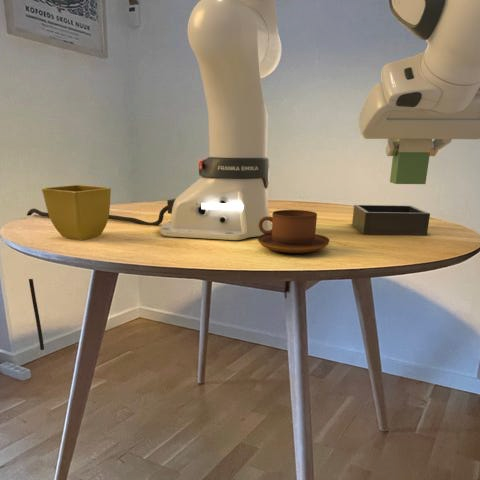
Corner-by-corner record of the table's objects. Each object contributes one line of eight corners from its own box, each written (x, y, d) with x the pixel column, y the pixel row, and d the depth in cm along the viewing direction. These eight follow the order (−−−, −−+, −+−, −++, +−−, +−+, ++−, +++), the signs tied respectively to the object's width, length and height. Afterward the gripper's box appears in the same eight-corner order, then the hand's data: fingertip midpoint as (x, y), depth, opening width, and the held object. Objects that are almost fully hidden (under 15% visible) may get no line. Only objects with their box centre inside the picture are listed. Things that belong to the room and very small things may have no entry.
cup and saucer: (258, 257, 74) (259, 218, 72) (256, 242, 85) (257, 207, 83) (334, 258, 74) (337, 219, 72) (322, 242, 85) (324, 208, 83)
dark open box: (363, 234, 93) (365, 212, 92) (352, 224, 104) (354, 204, 102) (426, 235, 93) (430, 213, 91) (409, 225, 104) (411, 205, 102)
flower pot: (116, 235, 90) (112, 187, 86) (82, 243, 82) (76, 191, 79) (82, 231, 94) (77, 184, 90) (47, 238, 86) (40, 188, 83)
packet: (395, 184, 78) (402, 125, 74) (389, 182, 81) (395, 126, 78) (426, 184, 78) (434, 125, 74) (418, 182, 81) (426, 126, 78)
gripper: (511, 66, 67) (465, 139, 80) (372, 64, 66) (347, 138, 79) (524, 98, 65) (474, 168, 77) (379, 96, 64) (352, 168, 76)
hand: (409, 153), depth 78 cm, fingers closed on packet, 5 cm apart
